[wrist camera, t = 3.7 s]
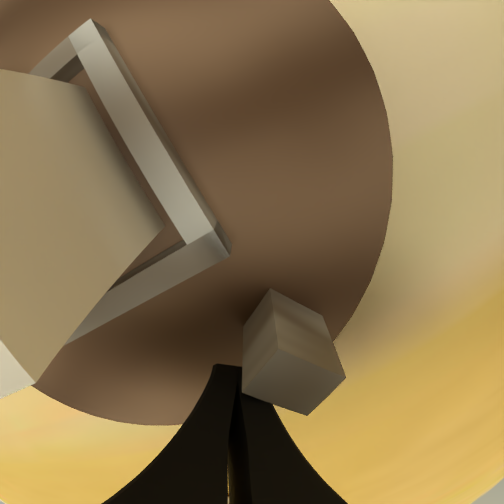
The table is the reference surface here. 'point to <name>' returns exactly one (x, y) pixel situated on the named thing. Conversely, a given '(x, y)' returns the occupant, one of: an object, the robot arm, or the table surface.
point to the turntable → (220, 194)
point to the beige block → (59, 219)
